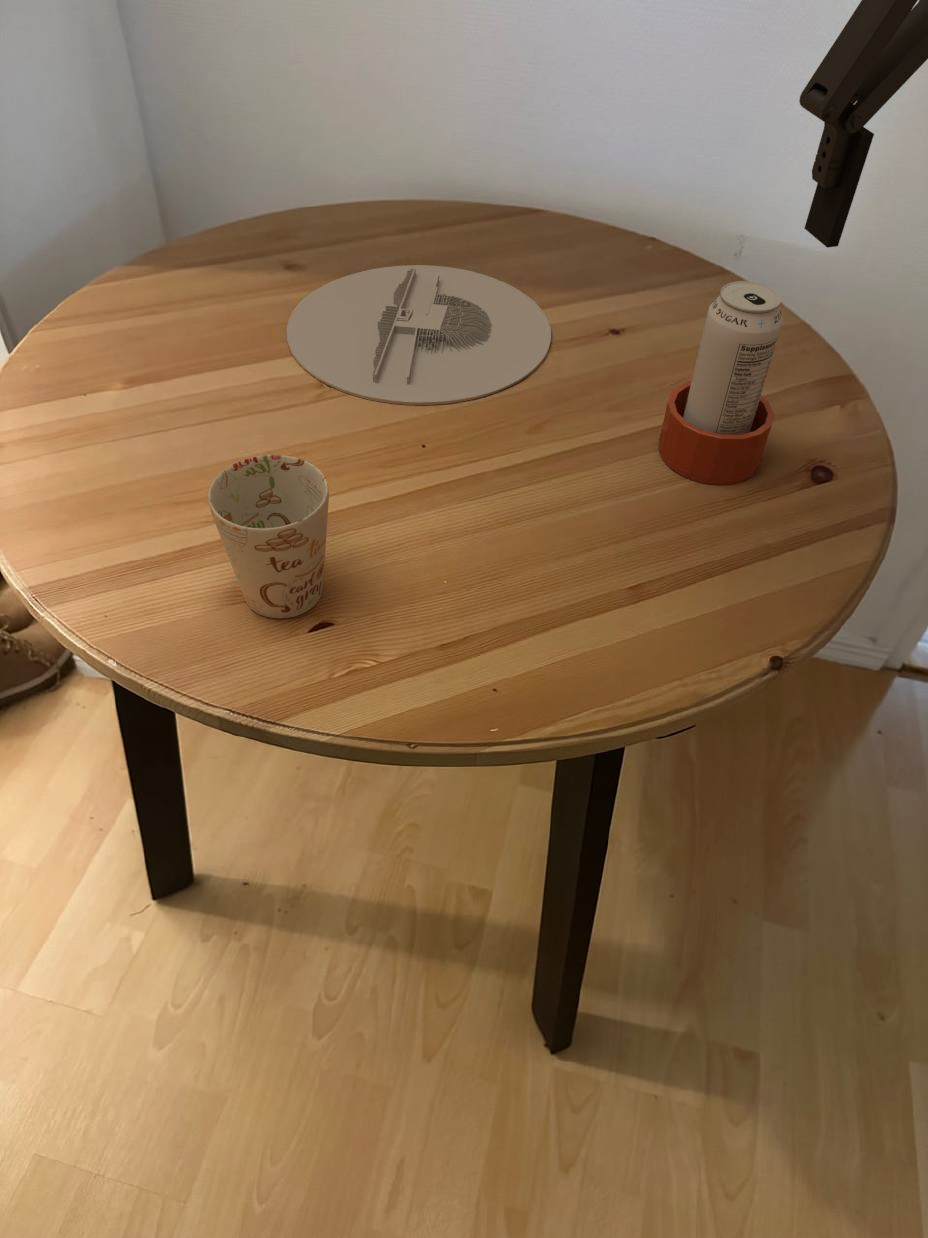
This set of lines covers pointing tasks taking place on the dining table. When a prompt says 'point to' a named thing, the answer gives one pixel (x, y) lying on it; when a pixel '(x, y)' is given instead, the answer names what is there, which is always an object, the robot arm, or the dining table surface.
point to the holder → (711, 444)
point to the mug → (273, 531)
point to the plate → (418, 335)
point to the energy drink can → (734, 358)
